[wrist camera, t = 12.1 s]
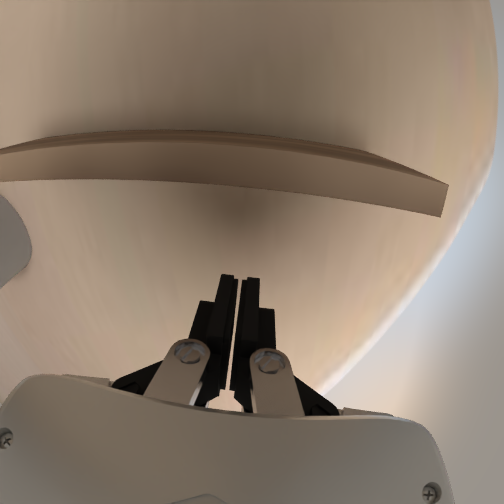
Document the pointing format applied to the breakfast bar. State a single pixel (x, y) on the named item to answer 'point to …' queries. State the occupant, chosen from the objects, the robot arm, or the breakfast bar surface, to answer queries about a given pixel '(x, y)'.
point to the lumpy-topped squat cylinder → (12, 242)
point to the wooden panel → (226, 165)
